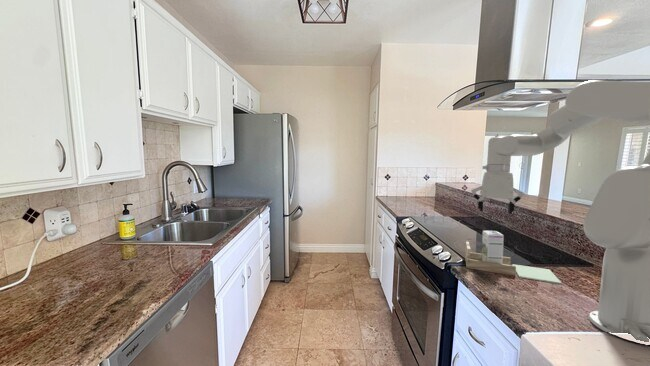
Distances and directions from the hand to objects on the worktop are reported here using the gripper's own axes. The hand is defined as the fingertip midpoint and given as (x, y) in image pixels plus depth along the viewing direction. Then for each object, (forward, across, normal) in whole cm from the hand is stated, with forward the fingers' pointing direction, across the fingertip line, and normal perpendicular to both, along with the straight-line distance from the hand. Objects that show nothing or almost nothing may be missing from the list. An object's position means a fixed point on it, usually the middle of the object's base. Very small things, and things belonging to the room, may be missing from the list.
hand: (495, 212), depth 101 cm
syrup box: (+23, 0, 0) cm, 23 cm away
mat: (+23, +14, 0) cm, 27 cm away
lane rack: (+23, -1, 0) cm, 23 cm away
